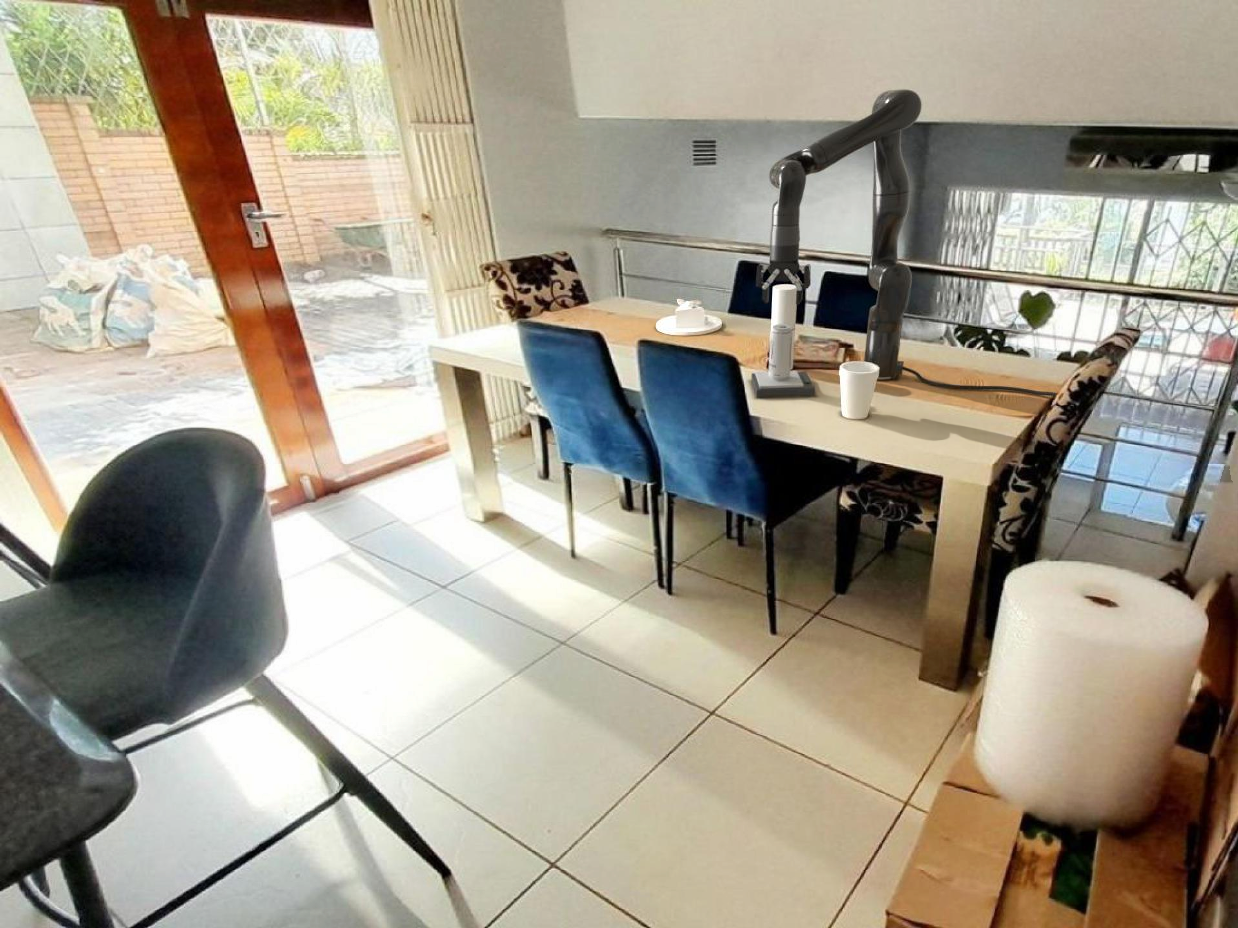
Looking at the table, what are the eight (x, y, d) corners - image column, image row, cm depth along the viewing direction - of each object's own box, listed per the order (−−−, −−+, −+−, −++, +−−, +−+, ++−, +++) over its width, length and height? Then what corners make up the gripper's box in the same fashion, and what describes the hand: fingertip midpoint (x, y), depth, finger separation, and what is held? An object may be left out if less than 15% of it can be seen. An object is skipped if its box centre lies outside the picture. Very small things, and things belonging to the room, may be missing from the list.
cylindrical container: (793, 371, 216) (797, 289, 204) (769, 371, 217) (772, 290, 206) (792, 363, 222) (797, 284, 211) (769, 363, 223) (773, 284, 212)
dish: (726, 333, 255) (726, 302, 250) (657, 337, 256) (656, 306, 251) (718, 316, 277) (718, 287, 272) (654, 319, 278) (653, 290, 273)
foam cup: (868, 424, 178) (873, 375, 172) (831, 418, 182) (835, 370, 176) (877, 410, 185) (882, 363, 179) (842, 405, 189) (846, 359, 184)
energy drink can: (766, 375, 205) (768, 324, 198) (786, 373, 205) (789, 323, 198) (771, 382, 199) (773, 330, 192) (792, 380, 199) (795, 329, 193)
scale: (805, 379, 209) (806, 369, 207) (814, 396, 196) (815, 385, 195) (751, 380, 210) (751, 370, 209) (756, 398, 198) (756, 387, 196)
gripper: (754, 244, 185) (753, 305, 192) (809, 244, 179) (806, 307, 186) (761, 239, 191) (759, 298, 198) (814, 239, 185) (811, 300, 193)
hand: (782, 303), depth 192 cm, fingers open, 8 cm apart
